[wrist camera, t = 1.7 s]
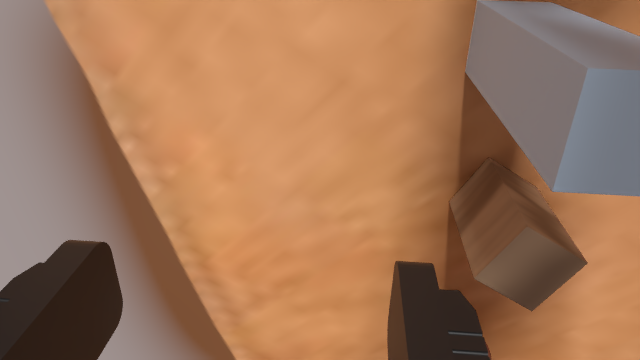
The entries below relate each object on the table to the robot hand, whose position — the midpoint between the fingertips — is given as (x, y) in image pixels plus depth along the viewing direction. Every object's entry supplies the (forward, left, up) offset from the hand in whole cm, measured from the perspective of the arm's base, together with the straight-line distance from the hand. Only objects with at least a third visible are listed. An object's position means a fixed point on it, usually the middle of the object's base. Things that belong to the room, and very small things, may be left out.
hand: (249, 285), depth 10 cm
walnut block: (+19, +1, -28) cm, 33 cm away
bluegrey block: (+9, +9, -28) cm, 30 cm away
